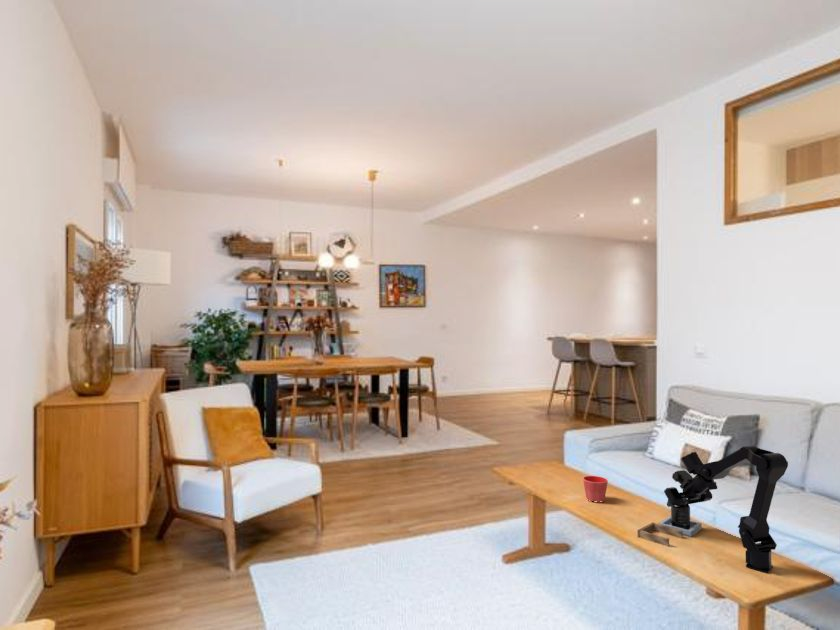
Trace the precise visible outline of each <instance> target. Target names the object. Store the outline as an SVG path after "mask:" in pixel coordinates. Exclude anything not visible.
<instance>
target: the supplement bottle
mask: <svg viewBox="0 0 840 630" xmlns="http://www.w3.org/2000/svg"><path fill="white" fill-rule="evenodd" d="M670 516H671V525H672V526H675V527H679V528H682V529H686V530H688V529H690V521H691V505H690V504H687V499H683V502H682V503H681V504H680V505H676V506H671V507H670Z"/></svg>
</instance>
